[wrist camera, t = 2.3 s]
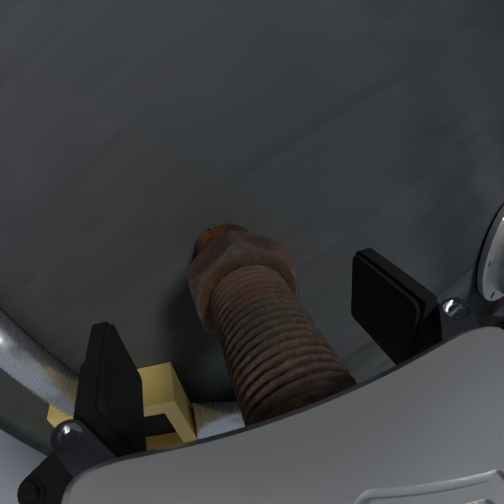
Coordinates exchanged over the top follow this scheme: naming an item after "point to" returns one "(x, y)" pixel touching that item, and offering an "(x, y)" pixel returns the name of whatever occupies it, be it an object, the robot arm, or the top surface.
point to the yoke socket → (158, 405)
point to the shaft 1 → (36, 368)
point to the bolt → (261, 323)
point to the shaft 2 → (216, 418)
